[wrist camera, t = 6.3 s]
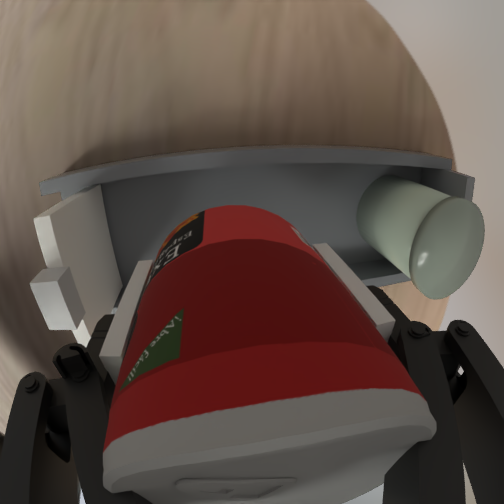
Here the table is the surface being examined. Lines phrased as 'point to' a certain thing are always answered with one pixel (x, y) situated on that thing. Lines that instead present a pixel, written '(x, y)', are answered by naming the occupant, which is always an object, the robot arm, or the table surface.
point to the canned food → (255, 375)
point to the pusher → (76, 264)
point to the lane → (256, 195)
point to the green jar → (422, 232)
